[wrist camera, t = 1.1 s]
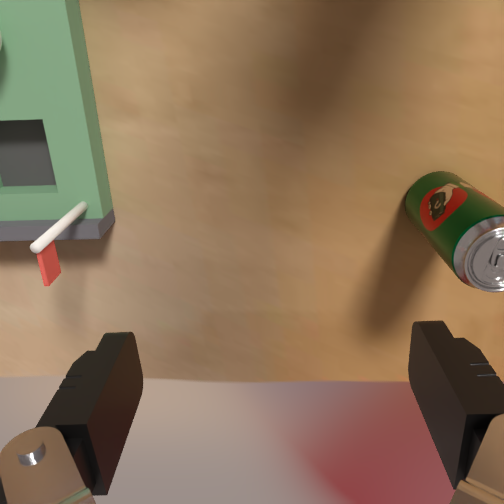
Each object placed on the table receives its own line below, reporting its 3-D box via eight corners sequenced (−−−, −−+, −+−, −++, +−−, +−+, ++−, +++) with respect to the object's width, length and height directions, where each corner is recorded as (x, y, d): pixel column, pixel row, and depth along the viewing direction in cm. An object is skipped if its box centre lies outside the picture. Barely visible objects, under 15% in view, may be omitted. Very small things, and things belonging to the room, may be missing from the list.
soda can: (398, 226, 39) (450, 296, 28) (408, 168, 37) (468, 219, 26) (458, 228, 39) (532, 299, 28) (471, 170, 37) (557, 222, 26)
